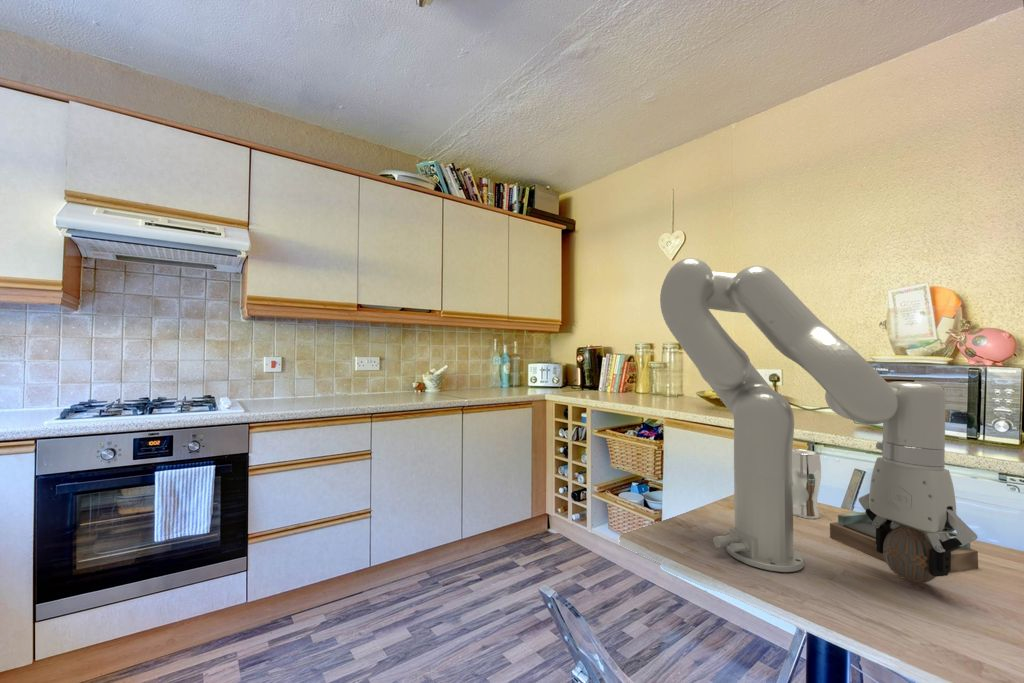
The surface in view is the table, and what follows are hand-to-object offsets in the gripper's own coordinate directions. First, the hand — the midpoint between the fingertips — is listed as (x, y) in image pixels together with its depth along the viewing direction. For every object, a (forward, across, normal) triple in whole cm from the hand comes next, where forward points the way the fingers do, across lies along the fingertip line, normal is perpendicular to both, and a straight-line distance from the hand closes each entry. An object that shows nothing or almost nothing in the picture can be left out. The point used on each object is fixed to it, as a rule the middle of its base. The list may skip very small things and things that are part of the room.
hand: (910, 562), depth 69 cm
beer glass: (+4, -29, +12) cm, 32 cm away
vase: (+3, 0, 0) cm, 3 cm away
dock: (+4, -9, +12) cm, 15 cm away
